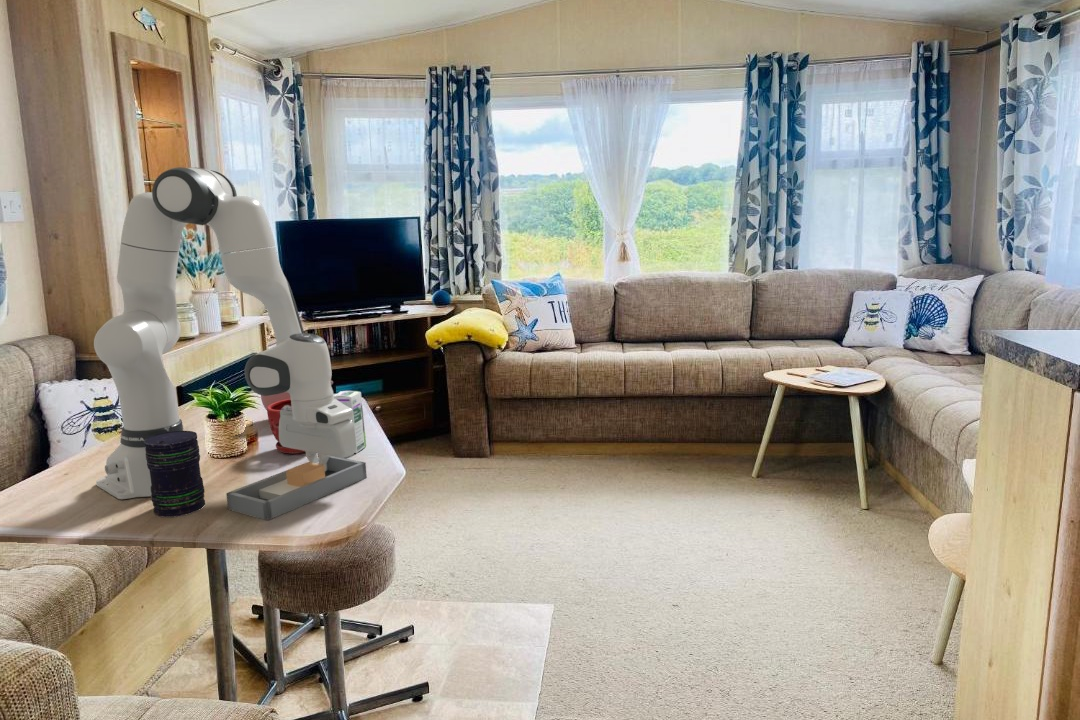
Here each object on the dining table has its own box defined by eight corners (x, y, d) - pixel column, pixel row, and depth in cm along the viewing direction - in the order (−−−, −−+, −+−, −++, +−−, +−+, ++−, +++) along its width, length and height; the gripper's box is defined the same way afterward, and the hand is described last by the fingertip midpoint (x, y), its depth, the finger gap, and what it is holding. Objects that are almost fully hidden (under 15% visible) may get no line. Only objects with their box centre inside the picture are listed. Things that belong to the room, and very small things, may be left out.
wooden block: (287, 483, 167) (286, 470, 166) (309, 475, 172) (307, 462, 171) (304, 487, 164) (302, 474, 164) (325, 478, 169) (324, 465, 169)
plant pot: (309, 437, 207) (305, 393, 205) (335, 447, 198) (331, 401, 195) (262, 449, 198) (257, 403, 196) (287, 460, 189) (282, 412, 186)
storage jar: (173, 498, 167) (164, 430, 164) (215, 499, 165) (207, 430, 162) (142, 516, 157) (132, 444, 154) (187, 518, 155) (177, 445, 152)
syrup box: (356, 454, 192) (352, 396, 189) (334, 453, 193) (329, 395, 190) (366, 446, 197) (362, 390, 195) (344, 446, 199) (339, 390, 196)
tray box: (228, 509, 159) (226, 493, 158) (328, 469, 181) (327, 454, 181) (267, 520, 153) (266, 503, 152) (366, 477, 175) (365, 462, 174)
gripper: (268, 407, 171) (275, 468, 174) (336, 418, 161) (342, 482, 163) (291, 400, 176) (297, 459, 179) (358, 410, 166) (363, 473, 169)
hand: (319, 470), depth 171 cm, fingers closed, pressing on wooden block
